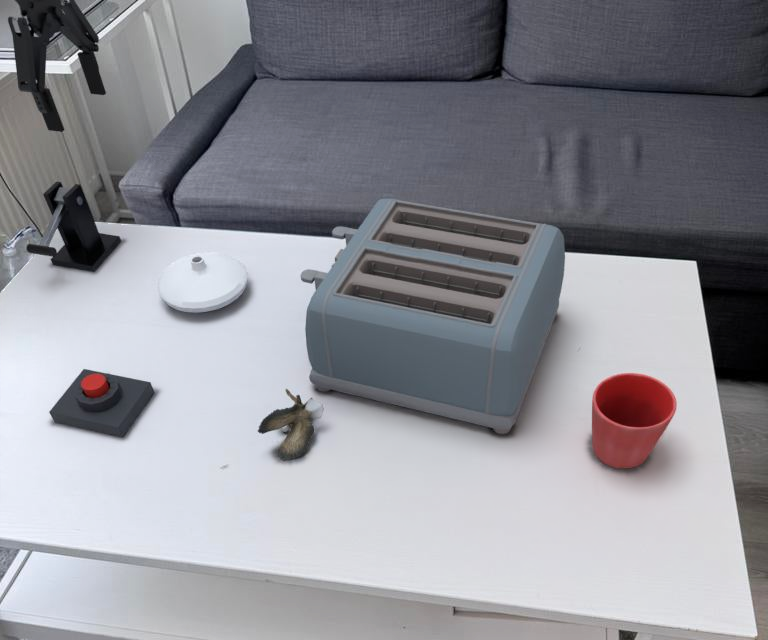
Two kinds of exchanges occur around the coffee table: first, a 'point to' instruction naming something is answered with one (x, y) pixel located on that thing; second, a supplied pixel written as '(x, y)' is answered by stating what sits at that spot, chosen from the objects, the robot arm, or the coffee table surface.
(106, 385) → the button
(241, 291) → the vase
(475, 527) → the coffee table surface
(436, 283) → the toaster
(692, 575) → the coffee table surface
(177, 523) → the coffee table surface
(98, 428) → the control block
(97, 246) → the bracket
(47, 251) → the lever
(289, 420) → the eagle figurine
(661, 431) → the flower pot
